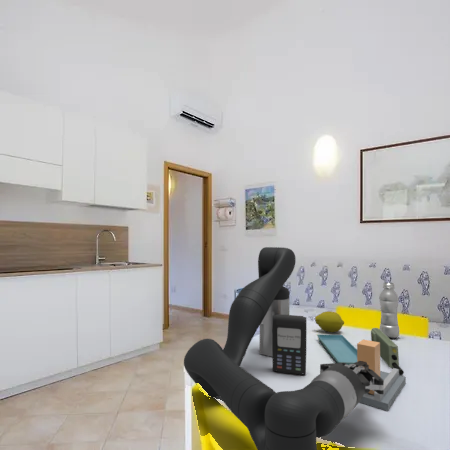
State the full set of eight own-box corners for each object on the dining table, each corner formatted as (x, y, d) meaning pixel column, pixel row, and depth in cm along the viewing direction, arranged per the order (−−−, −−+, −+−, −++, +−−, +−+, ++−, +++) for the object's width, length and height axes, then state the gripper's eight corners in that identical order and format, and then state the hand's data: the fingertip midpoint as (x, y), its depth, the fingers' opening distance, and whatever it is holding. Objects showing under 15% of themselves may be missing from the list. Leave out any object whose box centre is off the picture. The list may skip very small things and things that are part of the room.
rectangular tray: (372, 370, 92) (371, 361, 93) (338, 369, 93) (338, 360, 93) (342, 341, 119) (342, 334, 119) (316, 341, 119) (316, 334, 119)
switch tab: (374, 394, 73) (374, 347, 74) (357, 389, 75) (356, 343, 76) (380, 387, 77) (380, 342, 77) (363, 382, 79) (363, 339, 80)
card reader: (270, 372, 89) (271, 316, 90) (272, 367, 93) (273, 313, 94) (306, 376, 87) (306, 318, 87) (306, 371, 90) (306, 315, 91)
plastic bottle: (403, 340, 120) (402, 284, 121) (384, 339, 120) (383, 284, 121) (394, 335, 126) (393, 282, 127) (376, 334, 126) (375, 282, 127)
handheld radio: (381, 347, 112) (408, 377, 87) (371, 347, 112) (395, 377, 88) (380, 327, 112) (407, 351, 88) (370, 327, 113) (393, 351, 88)
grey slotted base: (387, 411, 69) (387, 396, 70) (340, 396, 76) (340, 383, 76) (405, 383, 83) (405, 370, 84) (364, 372, 90) (364, 361, 90)
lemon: (344, 331, 131) (344, 310, 132) (344, 336, 124) (344, 314, 124) (316, 328, 135) (316, 308, 135) (314, 333, 128) (314, 312, 128)
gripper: (299, 402, 63) (333, 375, 77) (373, 428, 55) (396, 392, 68) (300, 362, 64) (333, 342, 77) (373, 381, 55) (396, 355, 69)
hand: (363, 365), depth 73 cm, fingers closed
